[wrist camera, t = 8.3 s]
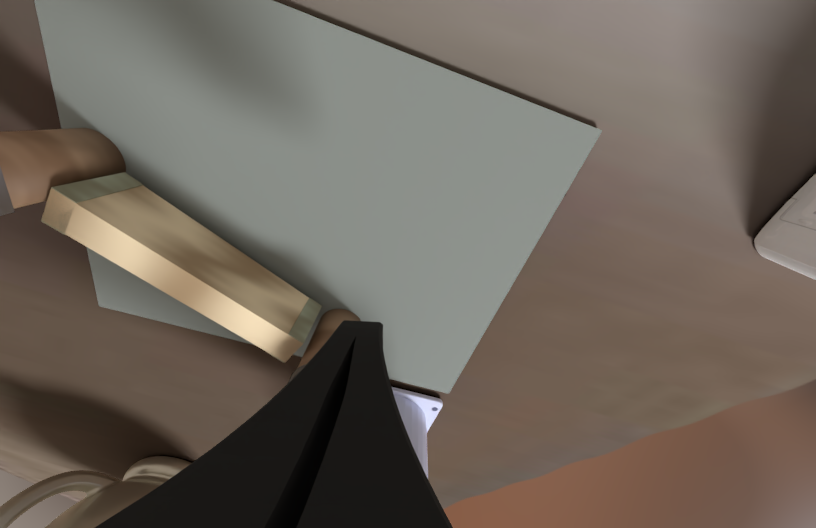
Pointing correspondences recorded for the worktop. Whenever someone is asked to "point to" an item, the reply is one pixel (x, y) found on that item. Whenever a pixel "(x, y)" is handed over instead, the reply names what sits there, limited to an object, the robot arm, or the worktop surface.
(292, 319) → the cream long bar
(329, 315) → the brown grey short cylinder
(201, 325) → the mat
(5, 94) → the worktop surface
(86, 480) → the teapot
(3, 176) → the latch post
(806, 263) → the white upright rounded block
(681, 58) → the worktop surface
